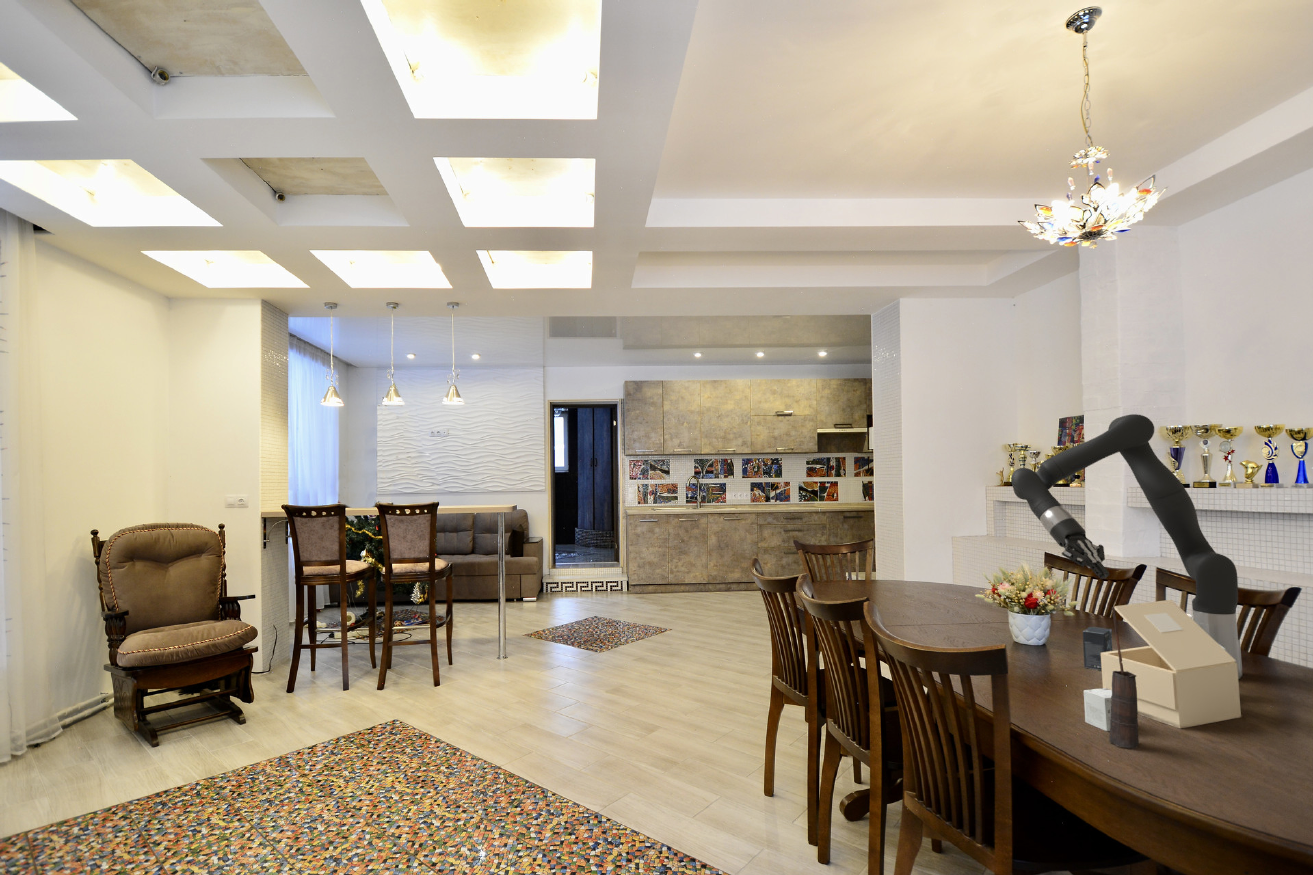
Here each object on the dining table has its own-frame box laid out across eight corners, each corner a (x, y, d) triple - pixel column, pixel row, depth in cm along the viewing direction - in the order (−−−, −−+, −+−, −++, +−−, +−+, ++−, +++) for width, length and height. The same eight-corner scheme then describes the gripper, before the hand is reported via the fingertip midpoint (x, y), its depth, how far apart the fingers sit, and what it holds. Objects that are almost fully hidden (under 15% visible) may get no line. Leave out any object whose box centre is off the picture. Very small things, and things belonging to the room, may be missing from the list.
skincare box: (1107, 732, 149) (1104, 697, 150) (1084, 722, 155) (1082, 689, 156) (1130, 729, 150) (1128, 695, 151) (1107, 719, 156) (1105, 686, 157)
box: (1107, 671, 192) (1104, 633, 192) (1084, 667, 196) (1081, 630, 196) (1114, 665, 197) (1111, 628, 198) (1091, 662, 201) (1089, 625, 202)
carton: (1161, 692, 173) (1158, 644, 174) (1242, 716, 155) (1238, 663, 156) (1101, 702, 167) (1098, 652, 168) (1178, 728, 150) (1174, 673, 150)
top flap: (1170, 601, 170) (1171, 599, 170) (1234, 662, 156) (1236, 660, 156) (1113, 607, 165) (1115, 605, 164) (1174, 671, 151) (1176, 669, 150)
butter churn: (1167, 756, 136) (1157, 614, 138) (1115, 754, 138) (1105, 614, 139) (1143, 738, 145) (1134, 605, 147) (1094, 736, 147) (1085, 605, 148)
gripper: (1050, 518, 185) (1094, 569, 172) (1088, 515, 188) (1133, 565, 176) (1035, 536, 189) (1077, 587, 177) (1072, 533, 193) (1116, 583, 181)
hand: (1105, 576), depth 177 cm, fingers closed
